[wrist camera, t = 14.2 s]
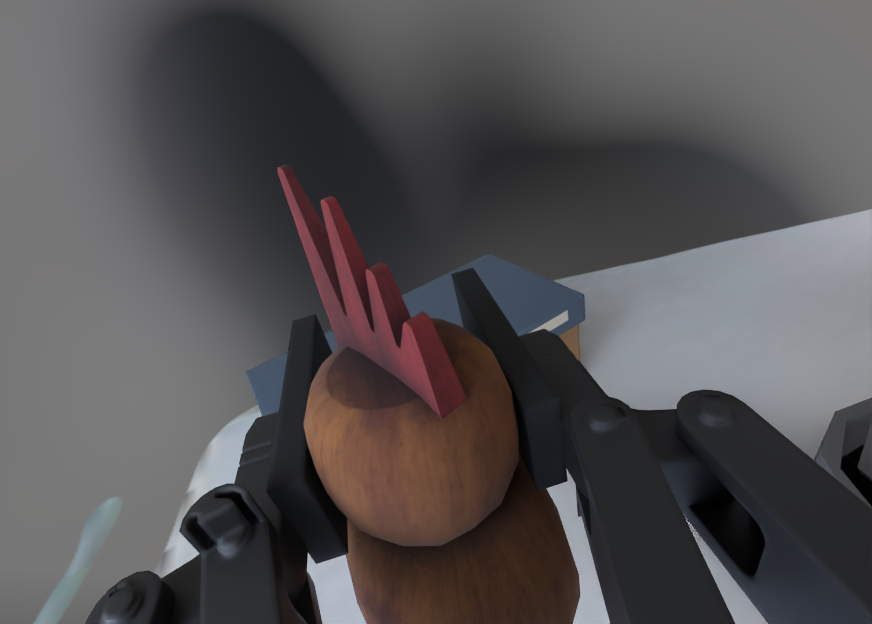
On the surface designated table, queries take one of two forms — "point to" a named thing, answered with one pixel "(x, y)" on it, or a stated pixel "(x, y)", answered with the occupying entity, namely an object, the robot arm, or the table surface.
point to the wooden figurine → (423, 454)
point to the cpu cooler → (850, 449)
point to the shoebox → (507, 283)
